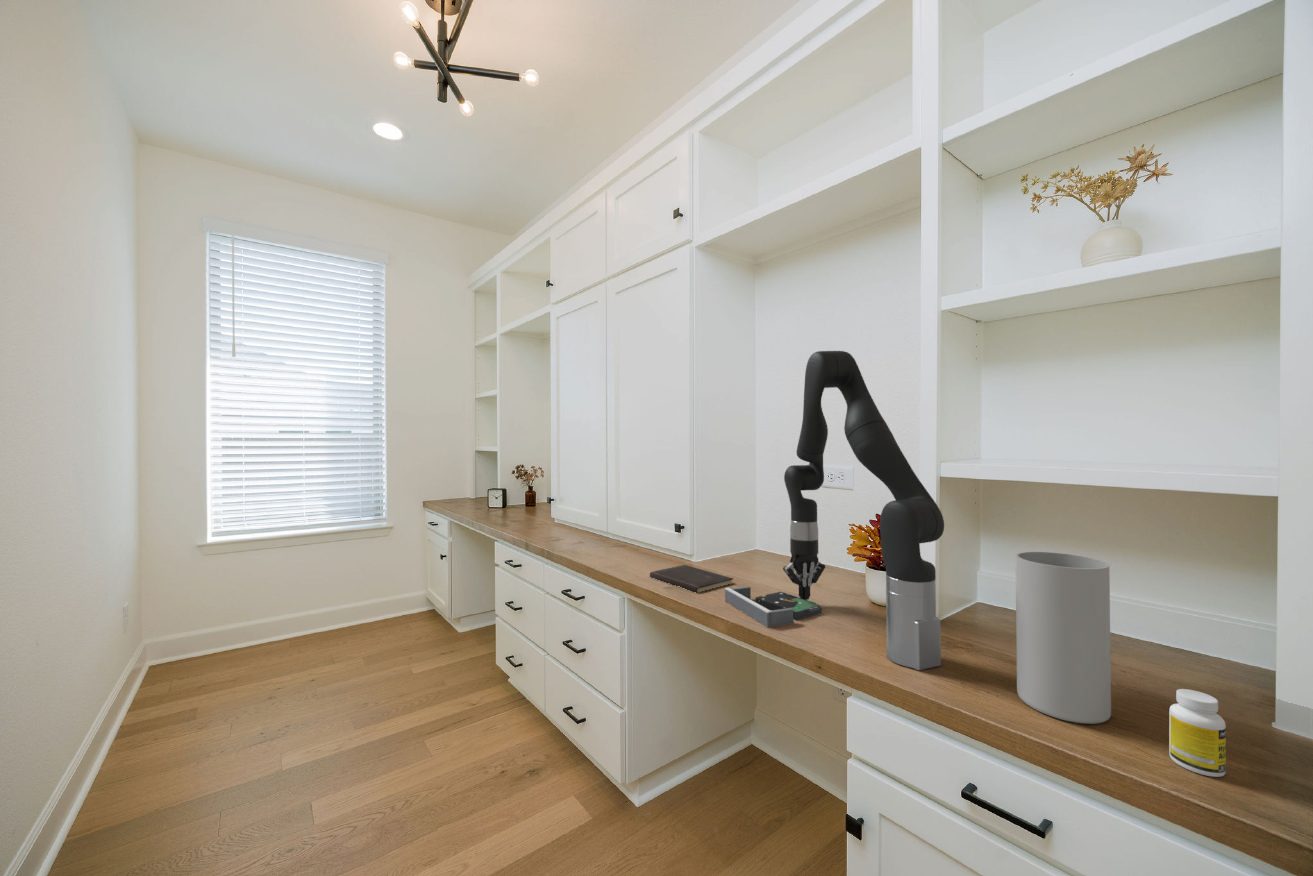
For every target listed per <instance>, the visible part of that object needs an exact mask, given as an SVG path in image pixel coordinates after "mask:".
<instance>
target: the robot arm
mask: <svg viewBox="0 0 1313 876" xmlns="http://www.w3.org/2000/svg"><path fill="white" fill-rule="evenodd" d="M830 388H831V389H832V388H837V389H838V390H839V391H840V393H841V394H842V396H843V398H844V399H843V400H844V401H845V404H846V414H845V419H844V427H843V428H844V430H843V431H844V435H845V437H846V440H847V442H848V444H849V446H850V448H851V450H852V452H853V454H854V456H855V457H856V459H857V460H858V461H859V463H860V464H862V465H863V467H865V469H867V470H868V471H869V472H870V473H871V474H873V475H874V476H875V477H876V478H877V479H878V480H880V481H881V482H882V483H883V484H884V485H885V486H886V488H887V489H888V490H889V491H890V493H891V494H892V496H893V498H894V499H895V500H892V501H889V502H888V503H886V504H885V505H884V506H883V509H882V511H881V513H880V518H879V519H880V520H879V530H880V544H881V546H880V547H881V557H882V561H883V563H884V566H885V593H886V594H885V607H886V609H885V610H886V611H885V612H886V613H885V614H886V615H885V616H886V621H885V622H886V623H885V624H886V631H885V632H886V656H887V658H888V659H889V660H890V661H891V662H893V663H895V664H897V665H901V666H904V667H906V668H911V669H914V670H917V671H923V670H927V669H931V668H937V667H940V666H942V659H941V658H942V653H941V652H942V651H941V650H942V649H941V648H942V647H941V645H942V644H941V643H942V642H941V641H942V640H941V636H942V635H941V634H942V633H941V624H942V623H941V619H940V618H939V617H938V616H937V607H936V606H937V604H936V603H937V600H936V599H937V597H936V596H937V594H936V593H937V590H936V589H937V587H936V585H937V584H936V581H937V577H936V576H937V575H936V574H937V573H936V567H935V565H934V564H933V563H932V562H929V561H928V560H924V559H923V557H922V556H921V546H920V544H926V543H932V542H936V541H937V540H939V539H940V538H941V537H942V535H943V533H944V529H945V521H944V516H943V514H942V511H941V509H940V508H939V505H938V504H937V502H936V501H935V500H934V498H933V497H932V495H930V493H929V492H928V490H927V489H926V488H925V486H924V485H923V483H922V481H920V479H919V478H918V476H917V475H916V473H915V471H914V470H913V468H912V466H911V465H910V463H909V461H908V460H907V458H906V456H905V455H904V453H903V451H902V450H901V448H900V446H899V445H898V444H899V443H897V440H896V439H895V437H894V435H893V432H892V431H891V429H890V428H889V425H888V424H887V422H886V421H885V419H884V418H883V416H882V414H881V413H880V411H879V408H878V407H877V405H876V403H875V401H874V398H873V397H872V395H871V393H870V392H869V390H868V387H867V385H866V383H865V380H864V377H863V375H862V372H861V370H860V367H859V365H858V363H857V361H856V359H855V358H854V357H853V355H852V354H851V353H849V351H844V350H818V351H815V352H813V353H812V354H811V355H810V356H809V358H808V359H807V363H806V366H805V373H804V389H803V390H804V391H803V412H802V422H801V429H800V433H799V437H798V438H799V439H798V443H797V447H796V456H797V458H798V459H800V460H802V461H803V462H808V464H806V465H805V464H804V465H803V464H800V465H799V464H797V465H790V466H788V467H787V468H786V470H785V472H784V475H783V479H784V484H785V488H786V491H787V495H788V498H789V502H790V526H789V527H790V528H789V529H790V530H789V535H790V536H789V537H790V540H789V541H790V542H789V544H790V545H789V548H790V549H789V550H790V554H791V556H790V559H789V564H788V565H787V566H786V565H784V566H783V568H782V570H783V571H784V573H785V574H786V576H787V577H788V578H789V580H790V581H791V583H793V584H795V585H796V586H797V585H798V597H799V598H802V599H805V600H808V601H809V600H810V597H811V586H812V584H817V582H818V580H819V578H820V577H821V575H822V573H824V570H825V569H826V565H825V564H823V563H821V562H820V561H819V557H818V555H819V526H818V503H817V500H816V501H815V500H814V499H811V498H807V497H804V495H803V494H802V491H817V490H819V489H820V488H821V487H822V486H823V484H824V482H825V481H824V480H825V473H824V472H825V471H824V454H825V453H824V452H825V449H826V445H827V441H828V435H829V431H828V430H829V428H828V424H827V421H826V418H825V415H824V412H823V407H822V398H823V397H822V396H823V394H824V391H825V389H830Z"/></svg>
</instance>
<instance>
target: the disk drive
mask: <svg viewBox="0 0 1313 876" xmlns="http://www.w3.org/2000/svg"><path fill="white" fill-rule="evenodd" d="M755 602H756V603H757V604H759V605H761V606H763V607H765V608H767V609H768V610H779V609H786V608H792V609H793V621H799V620H802V619H806V618H808V617H809V618H810V617H812V615H813V616H816V615H820V614H822V613H823V612H822V611H823V609H822V608H823V607H822V605H820V604H819V603H816V602H814V601H810V600H809V599H808V600H805V599H802V598H800V597H799V596H795V595H792V594H790V593H786V592H784V591H777V592H773V593H769V594H766V595H765V596H762V595H760V596H756V597H755ZM805 617H806V618H805ZM798 619H799V620H798Z"/></svg>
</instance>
